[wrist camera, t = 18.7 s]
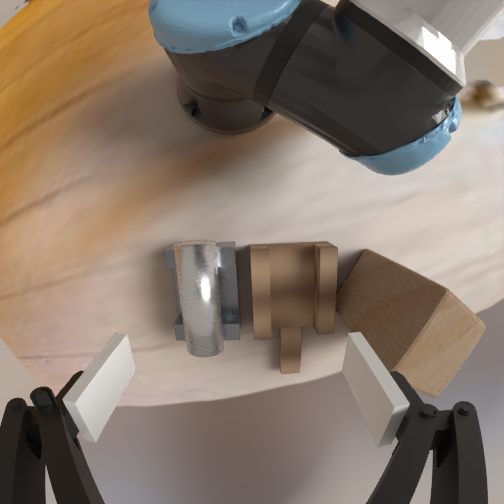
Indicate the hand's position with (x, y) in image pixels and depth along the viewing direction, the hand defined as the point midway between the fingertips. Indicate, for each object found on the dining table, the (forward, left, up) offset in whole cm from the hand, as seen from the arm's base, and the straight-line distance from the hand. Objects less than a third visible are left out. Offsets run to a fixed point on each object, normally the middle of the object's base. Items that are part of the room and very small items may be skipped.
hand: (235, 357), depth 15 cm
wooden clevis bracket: (+8, +7, -25) cm, 27 cm away
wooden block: (+6, +20, -25) cm, 32 cm away
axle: (+3, -6, -21) cm, 22 cm away
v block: (+4, -5, -25) cm, 26 cm away
